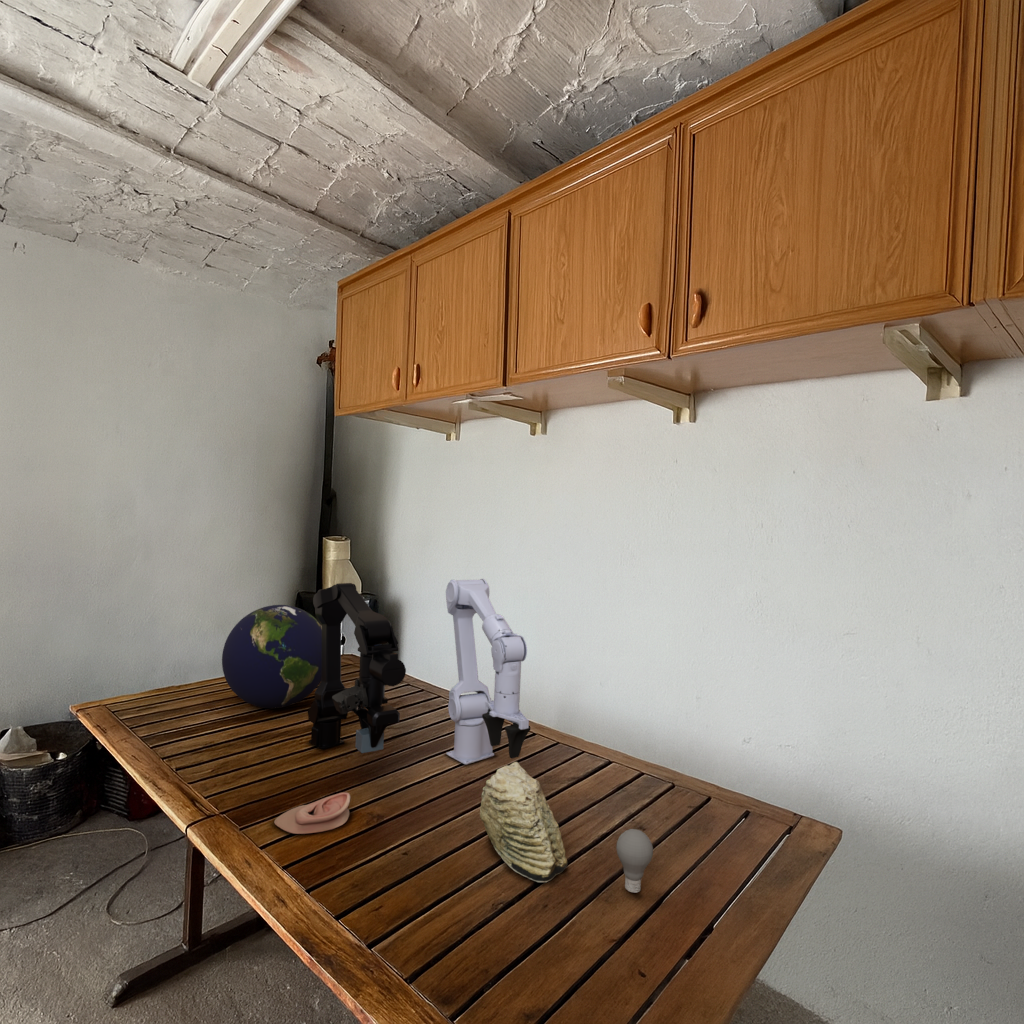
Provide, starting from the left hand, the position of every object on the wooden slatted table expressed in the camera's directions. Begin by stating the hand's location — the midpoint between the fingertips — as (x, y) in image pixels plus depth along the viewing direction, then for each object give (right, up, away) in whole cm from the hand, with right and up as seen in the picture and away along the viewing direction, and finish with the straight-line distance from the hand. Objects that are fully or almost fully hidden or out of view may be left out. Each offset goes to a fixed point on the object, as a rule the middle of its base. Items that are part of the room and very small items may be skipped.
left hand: (369, 743), depth 143 cm
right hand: (+30, -1, -1) cm, 30 cm away
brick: (0, -1, 0) cm, 1 cm away
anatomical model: (-7, -8, -19) cm, 22 cm away
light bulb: (+52, -11, -37) cm, 65 cm away
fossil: (+33, -10, -28) cm, 45 cm away
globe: (-38, -6, +45) cm, 60 cm away
